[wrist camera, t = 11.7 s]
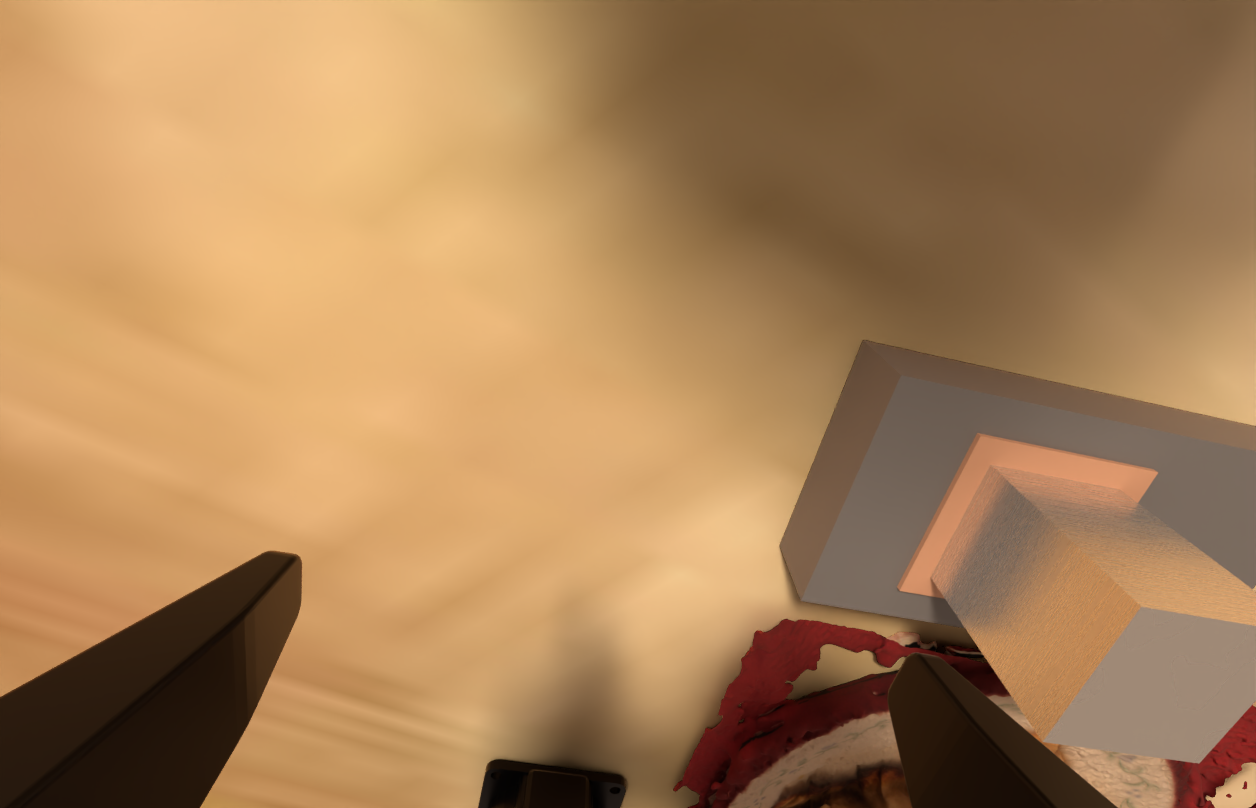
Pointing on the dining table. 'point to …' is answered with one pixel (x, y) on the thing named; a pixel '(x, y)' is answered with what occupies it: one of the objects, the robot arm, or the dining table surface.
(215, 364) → the dining table surface
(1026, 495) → the aluminium block
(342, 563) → the dining table surface
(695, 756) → the plate with food
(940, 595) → the parts holder
